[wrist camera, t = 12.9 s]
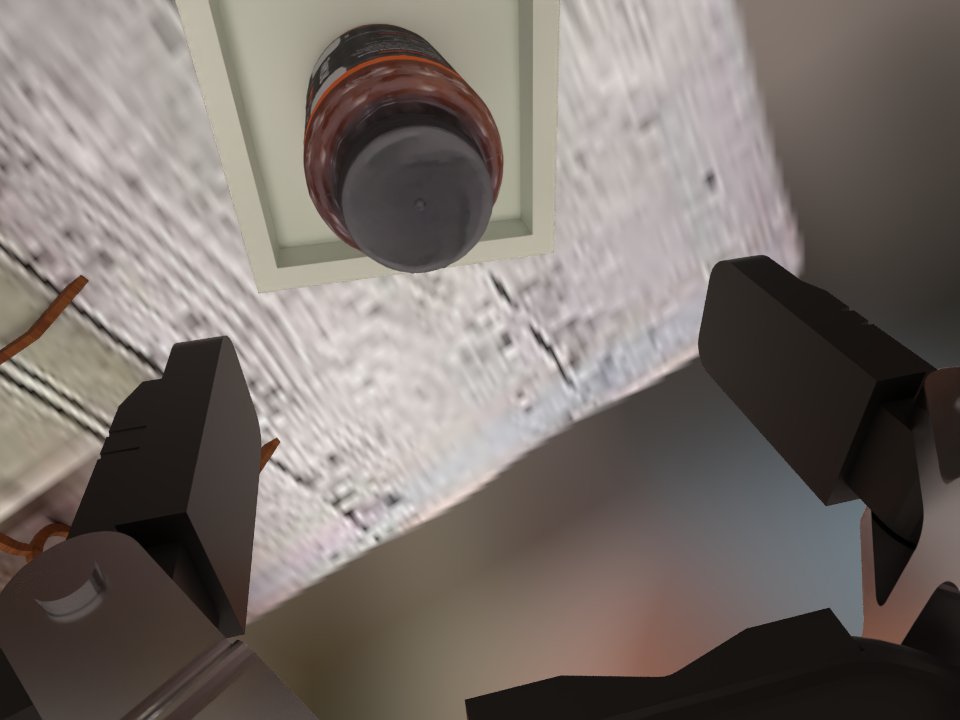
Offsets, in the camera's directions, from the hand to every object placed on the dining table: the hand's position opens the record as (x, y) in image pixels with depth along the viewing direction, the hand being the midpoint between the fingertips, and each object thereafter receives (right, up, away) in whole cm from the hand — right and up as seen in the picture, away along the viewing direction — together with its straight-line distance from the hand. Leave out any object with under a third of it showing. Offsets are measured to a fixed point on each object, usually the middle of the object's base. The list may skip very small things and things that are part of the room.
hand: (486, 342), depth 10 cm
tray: (-4, +11, +16) cm, 19 cm away
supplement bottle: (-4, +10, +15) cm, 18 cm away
